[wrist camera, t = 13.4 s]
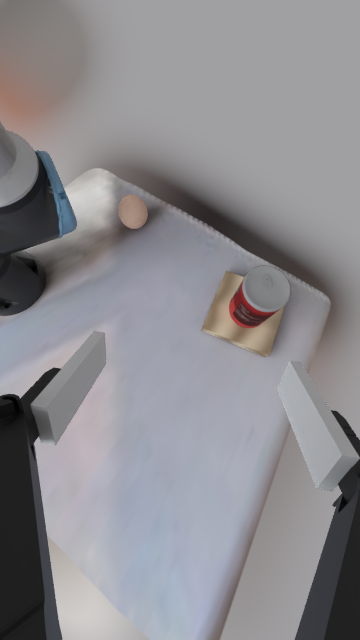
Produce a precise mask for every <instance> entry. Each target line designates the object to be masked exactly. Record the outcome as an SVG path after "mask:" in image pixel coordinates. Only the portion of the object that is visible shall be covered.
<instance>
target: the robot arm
mask: <svg viewBox="0 0 360 640" xmlns="http://www.w3.org/2000/svg"><path fill="white" fill-rule="evenodd" d="M76 226H77V221H76V218H75V215H74V212H73V210H72V207H71V205H70V202H69V200H68V197H67V195H66V192H65V190H64V188H63V185H62V183H61V180H60V178H59V175H58V173H57V171H56V169H55V166H54V164H53V162H52V159H51V157H50V155H49V154H48V153H47V152H45V151H34V150H33V148H32V147H31V146H30V145H29V143H28V142H27V141H26V140H25V139H23V138H22V137H20V136H19V135H17V134H15V133H13V132H10V131H7V130H6V129H5V128H4V126H3V125H2V123H1V122H0V316H7V315H13V314H16V313H19V312H21V311H23V310H25V309H27V308H28V307H30V306H31V305H32V304H33V303H34V302H35V301H36V300H37V299H38V298H39V296H40V295H41V293H42V291H43V289H44V286H45V279H46V278H45V272H44V269H43V267H42V265H41V264H40V263H39V262H38V261H37V260H36V259H35V258H34V257H33V256H31V255H30V254H28V253H27V252H24V251H22V250H24V249H27V248H30V247H33V246H36V245H39V244H42V243H45V242H48V241H51V240H53V239H56V238H61V237H62V235H65V234H67V233H69V232H72V231H73V230H75V228H76ZM105 365H106V347H105V333H103V332H97V331H94V332H93V333H92V334H91V336H90V337H89V338H88V339H87V340H86V341H85V342H84V344H83V345H82V346H81V347H80V348H79V349H78V351H77V352H76V353H75V354H74V355H73V356H72V357H71V359H70V360H69V361H68V362H67V363H66V364H65V365H64V367H63V368H62V369H59V368H52V369H51V370H49V371H47V372H45V373H44V374H43V375H42V376H41V377H40V379H39V380H38V381H37V382H36V383H35V384H34V386H32V387H31V388H30V389H29V390H28V391H27V392H26V393H25V394H24V395H23V396H22V398H21V399H20V398H19V396H17V395H15V394H7V395H2V396H0V640H62V635H61V630H60V626H59V620H58V614H57V607H56V599H55V592H54V584H53V578H52V570H51V562H50V555H49V548H48V541H47V533H46V526H45V519H44V511H43V504H42V497H41V489H40V482H39V475H38V467H37V460H36V453H35V446H34V442H35V441H36V439H37V438H38V436H39V438H40V441H41V443H45V444H51V445H56V444H57V442H58V441H59V439H60V437H61V436H62V434H63V433H64V431H65V429H66V428H67V426H68V424H69V423H70V421H71V420H72V418H73V416H74V415H75V413H76V412H77V410H78V408H79V407H80V405H81V403H82V402H83V400H84V399H85V397H86V395H87V394H88V392H89V390H90V389H91V387H92V386H93V384H94V382H95V381H96V379H97V377H98V376H99V374H100V373H101V371H102V369H103V368H104V366H105ZM277 391H278V393H279V396H280V398H281V401H282V403H283V406H284V408H285V411H286V413H287V416H288V419H289V421H290V424H291V426H292V428H293V431H294V433H295V436H296V438H297V441H298V444H299V446H300V448H301V451H302V453H303V456H304V459H305V461H306V463H307V466H308V469H309V471H310V473H311V476H312V478H313V481H314V484H315V486H316V489H321V490H327V491H333V490H334V489H335V488H336V487H337V485H339V487H340V490H341V492H342V494H341V495H340V496H339V498H338V499H337V500H336V501H335V502H334V503H333V506H334V507H335V506H336V505H337V506H336V509H335V512H334V515H333V519H332V522H331V525H330V528H329V532H328V535H327V538H326V541H325V544H324V547H323V551H322V554H321V557H320V560H319V564H318V567H317V570H316V573H315V577H314V580H313V583H312V586H311V589H310V592H309V596H308V599H307V602H306V605H305V609H304V612H303V615H302V618H301V621H300V625H299V628H298V632H297V634H296V638H295V640H360V440H359V439H358V437H356V434H355V433H354V431H353V430H352V429H351V427H350V426H349V424H348V422H347V421H346V419H344V417H342V416H341V415H340V414H339V413H338V412H337V411H332V410H330V409H329V407H328V406H327V404H326V402H325V401H324V399H323V397H322V396H321V394H320V393H319V391H318V389H317V388H316V386H315V385H314V383H313V381H312V380H311V378H310V377H309V375H308V373H307V372H306V370H305V368H304V367H303V365H302V364H301V362H296V361H290V360H289V363H288V365H287V367H286V370H285V372H284V374H283V377H282V379H281V381H280V384H279V386H278V388H277Z"/></svg>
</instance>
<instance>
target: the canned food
mask: <svg viewBox="0 0 360 640" xmlns="http://www.w3.org/2000/svg"><path fill="white" fill-rule="evenodd" d="M290 295H291V287H290V283H289V281H288V279H287V277H286V276H285V275H284V274H283V273H282V272H281V271H280V270H278V269H276V268H274V267H271V266H258V267H255V268H253V269H252V270H250V271H249V272H248V273H247V275H246V276H245V278H244V279H243V281H242V282H241V284H240V286H239V287H238V289H237V291H236V292H235V294H234V296H233V297H232V299H231V301H230V304H229V312H230V316H231V318H232V320H233V321H234V322H235V323H236V324H237V325H239V326H241V327H244V328H254V327H257V326H259V325H260V324H262V323H263V322H264V321H266V320H267V319H268V318H270V317H271V316H272V315H274V314H275V313H276V312H277V311H279V310H280V309H281V308H282V307H284V306H285V304H286V303H287V302H288V300H289V298H290Z"/></svg>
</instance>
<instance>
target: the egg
mask: <svg viewBox="0 0 360 640" xmlns="http://www.w3.org/2000/svg"><path fill="white" fill-rule="evenodd" d="M118 211H119V217H120V219H121V221H122V223H123V224H124V225H125V226H127V227H129V228H131V229H138V228H141V227H142V226H143V225H144V224H145V223H146V221H147V217H148V212H147V208H146V205H145V203H144V202H143V201H142V200H141V199H140V198H139V197H138V196H136V195H132V194H131V195H126V196H125V197H123V198H122V200H121V202H120V204H119V208H118Z"/></svg>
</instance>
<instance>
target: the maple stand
mask: <svg viewBox="0 0 360 640" xmlns="http://www.w3.org/2000/svg"><path fill="white" fill-rule="evenodd" d="M243 279H244V277H242V276H239V275H236V274H234V273H231V272H229V271H226V272H225V274H224V277H223V279H222V282H221V284H220V286H219V289H218V291H217V294H216V296H215V298H214V301H213V303H212V305H211V308H210V310H209V313H208V315H207V317H206V320H205V322H204V325H203V327H202V329H201V331H204V332H206V333H209V334H211V335H213V336H216V337H218V338H220V339H223V340H225V341H228V342H230V343H232V344H235V345H237V346H239V347H242V348H244V349H247V350H249V351H251V352H254V353H256V354H259V355H261V356H263V357H267V356H269V355H270V352H271V349H272V346H273V343H274V339H275V336H276V333H277V330H278V327H279V323H280V320H281V317H282V314H283V311H284V307H285V306H284V307H282V308H281V309H280V310H279V311H277V312H276V313H275V314H274V315H272V316H271V317H270V318H268V319H267V320H266V321H264V322H263V323H262V324H260V325H259V326H257V327H254V328H244V327H241V326H239V325H237V324H236V323H235V322H234V321H233V320H232V318H231V316H230V312H229V304H230V301H231V299H232V297H233V296H234V294H235V292H236V291H237V289H238V287H239V286H240V284H241V282H242V281H243Z"/></svg>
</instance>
